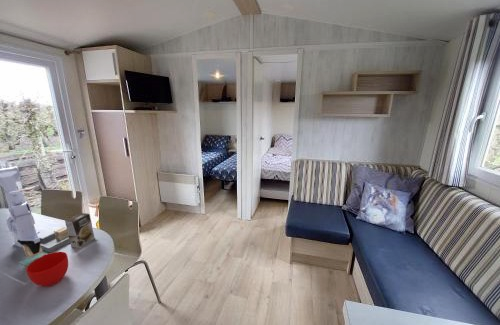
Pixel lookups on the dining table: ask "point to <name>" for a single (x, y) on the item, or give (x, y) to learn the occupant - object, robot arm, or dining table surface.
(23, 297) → the dining table surface
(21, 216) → the robot arm
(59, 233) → the plain block
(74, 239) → the coffee box
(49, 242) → the parts bin
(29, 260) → the teal mat
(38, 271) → the red mixing bowl
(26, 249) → the labelled block
